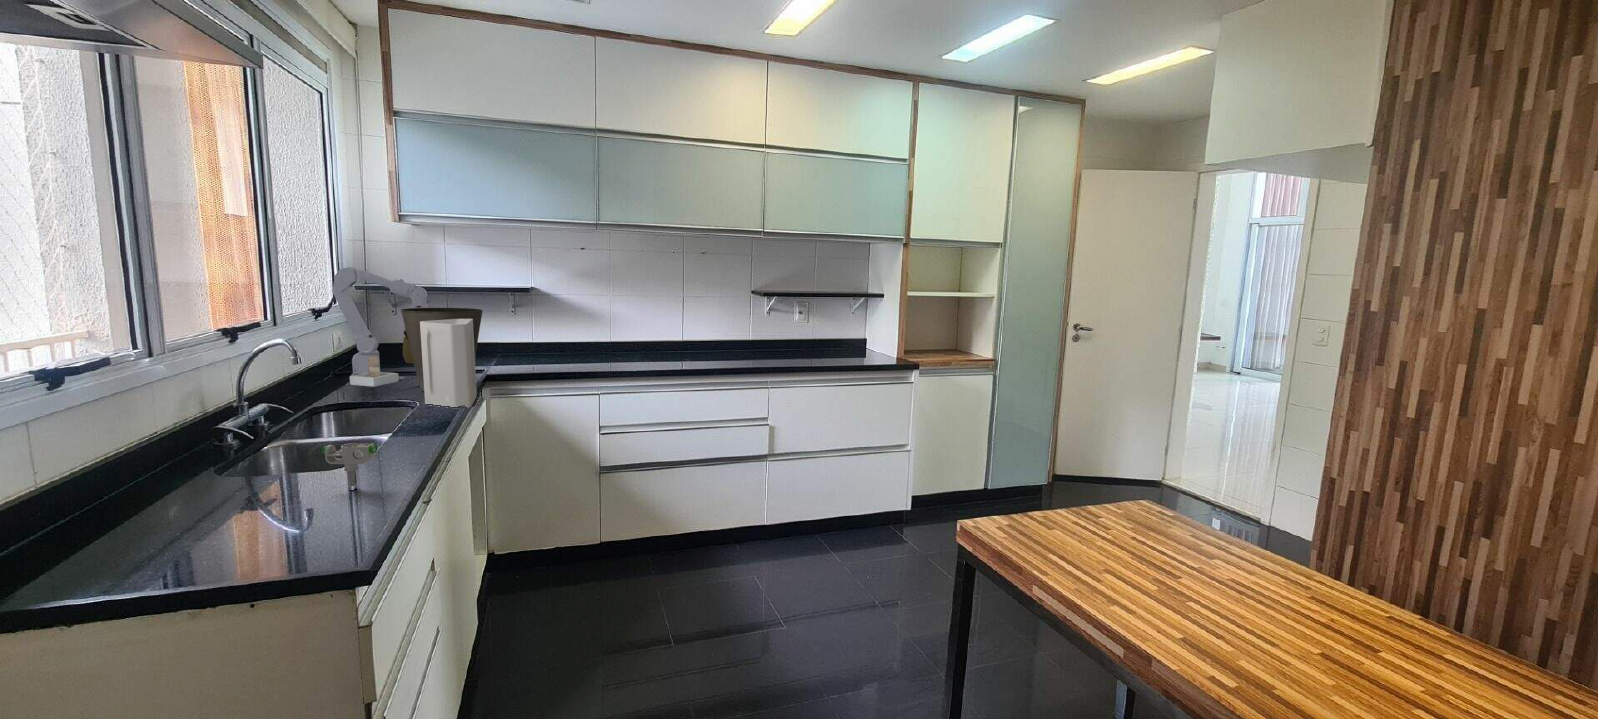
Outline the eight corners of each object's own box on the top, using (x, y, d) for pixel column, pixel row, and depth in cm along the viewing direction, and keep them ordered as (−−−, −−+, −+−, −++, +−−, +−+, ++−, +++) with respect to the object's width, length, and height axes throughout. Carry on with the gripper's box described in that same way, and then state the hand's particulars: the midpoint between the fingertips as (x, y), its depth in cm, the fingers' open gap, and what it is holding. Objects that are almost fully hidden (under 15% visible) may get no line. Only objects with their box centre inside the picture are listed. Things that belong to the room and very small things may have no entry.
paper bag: (430, 397, 230) (425, 319, 226) (477, 395, 235) (473, 318, 231) (420, 410, 212) (414, 324, 208) (470, 407, 217) (466, 324, 213)
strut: (367, 382, 249) (365, 356, 247) (380, 381, 252) (378, 355, 250) (368, 384, 245) (366, 357, 244) (382, 382, 248) (380, 356, 247)
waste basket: (488, 382, 260) (485, 307, 255) (484, 392, 241) (480, 311, 237) (411, 385, 250) (406, 307, 246) (400, 396, 232) (394, 311, 227)
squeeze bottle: (427, 362, 301) (425, 323, 298) (412, 364, 294) (409, 325, 291) (414, 361, 304) (412, 322, 301) (398, 363, 296) (396, 324, 294)
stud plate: (376, 380, 256) (376, 373, 256) (394, 377, 264) (393, 370, 264) (393, 382, 254) (393, 375, 254) (410, 378, 262) (409, 371, 262)
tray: (350, 386, 245) (349, 376, 244) (375, 381, 255) (375, 371, 255) (374, 388, 242) (373, 378, 241) (398, 383, 253) (398, 373, 252)
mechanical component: (332, 487, 142) (328, 443, 141) (381, 487, 143) (378, 443, 142) (323, 492, 139) (319, 447, 138) (374, 491, 140) (370, 447, 139)
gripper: (402, 317, 265) (404, 350, 267) (441, 316, 274) (443, 348, 276) (398, 316, 270) (400, 348, 272) (437, 315, 279) (439, 346, 281)
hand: (422, 348), depth 274 cm, fingers open, 7 cm apart
